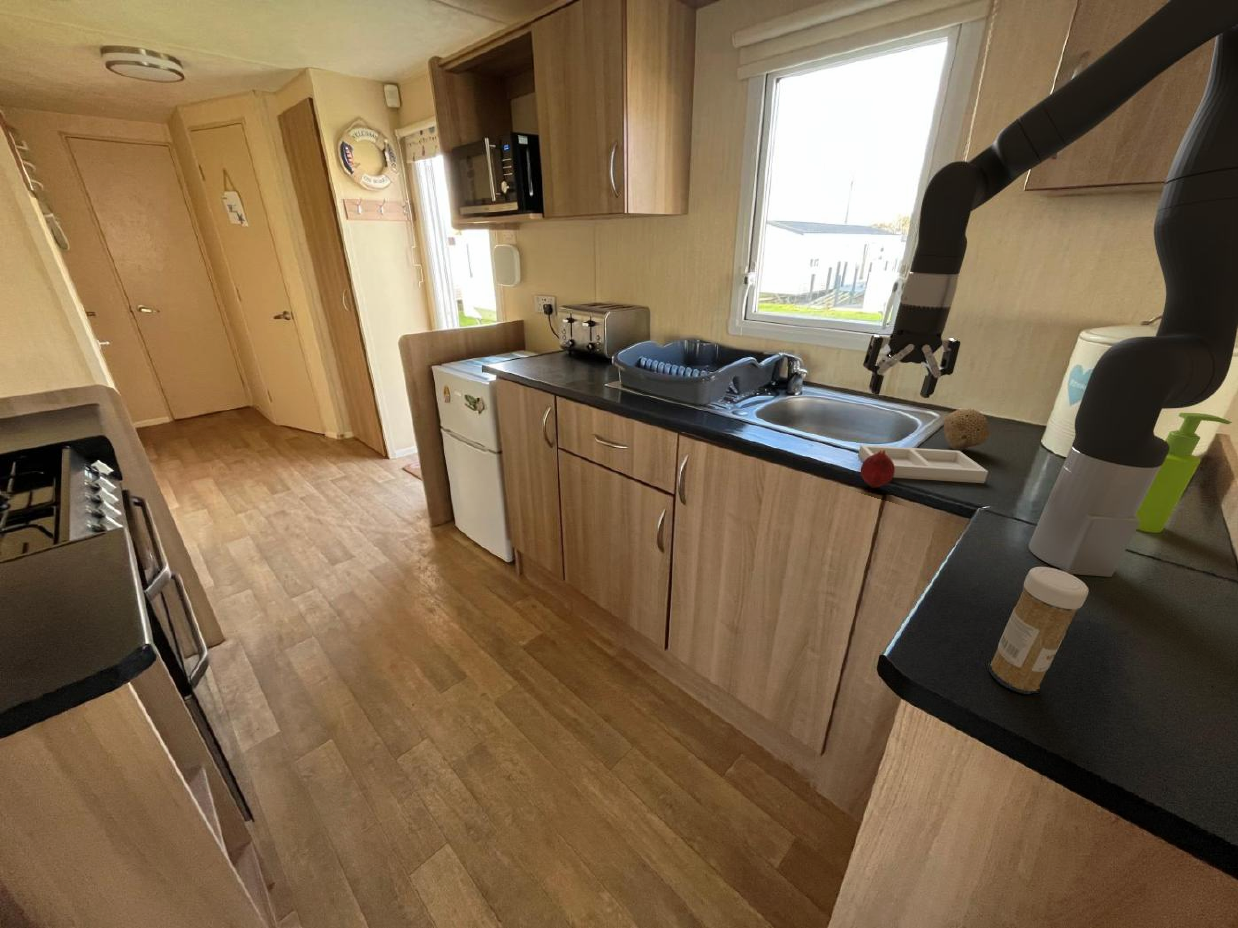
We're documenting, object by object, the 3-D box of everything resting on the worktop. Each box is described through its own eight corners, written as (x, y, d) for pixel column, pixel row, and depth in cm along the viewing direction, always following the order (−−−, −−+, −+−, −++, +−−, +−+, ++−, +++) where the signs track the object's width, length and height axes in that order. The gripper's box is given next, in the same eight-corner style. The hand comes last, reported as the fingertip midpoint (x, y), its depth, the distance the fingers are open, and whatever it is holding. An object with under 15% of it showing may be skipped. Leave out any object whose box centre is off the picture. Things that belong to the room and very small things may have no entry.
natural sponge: (979, 447, 116) (993, 407, 112) (985, 460, 109) (1000, 418, 105) (935, 440, 120) (947, 401, 116) (938, 452, 113) (951, 411, 109)
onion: (893, 495, 92) (904, 457, 89) (861, 492, 93) (870, 454, 90) (884, 482, 97) (894, 445, 94) (854, 479, 98) (862, 443, 95)
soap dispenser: (1178, 536, 81) (1243, 423, 72) (1125, 528, 83) (1184, 417, 75) (1156, 520, 86) (1215, 412, 77) (1108, 512, 88) (1160, 406, 80)
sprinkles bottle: (1045, 702, 50) (1100, 598, 45) (993, 689, 52) (1041, 587, 46) (1028, 669, 54) (1076, 570, 49) (980, 658, 56) (1022, 560, 50)
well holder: (983, 483, 98) (988, 471, 97) (875, 476, 100) (878, 464, 99) (955, 461, 108) (959, 450, 107) (858, 455, 110) (860, 445, 109)
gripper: (889, 303, 79) (865, 399, 86) (983, 306, 77) (951, 404, 84) (873, 298, 85) (852, 387, 92) (959, 301, 84) (931, 391, 91)
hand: (899, 395), depth 88 cm, fingers open, 8 cm apart
